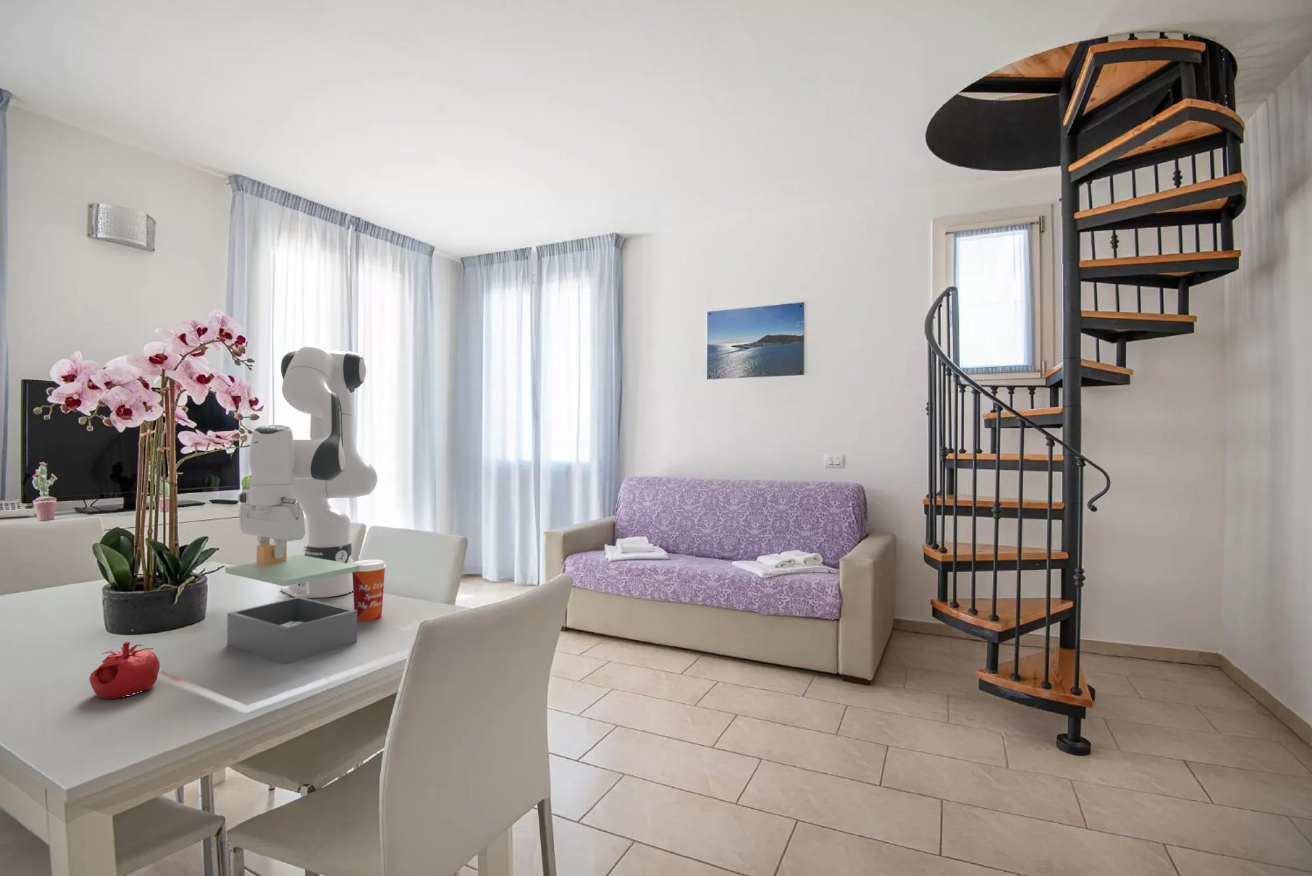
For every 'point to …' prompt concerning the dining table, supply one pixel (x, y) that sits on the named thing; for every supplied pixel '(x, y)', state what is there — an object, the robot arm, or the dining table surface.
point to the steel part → (291, 624)
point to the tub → (291, 629)
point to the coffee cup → (368, 589)
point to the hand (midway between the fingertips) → (272, 556)
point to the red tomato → (125, 672)
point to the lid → (289, 568)
